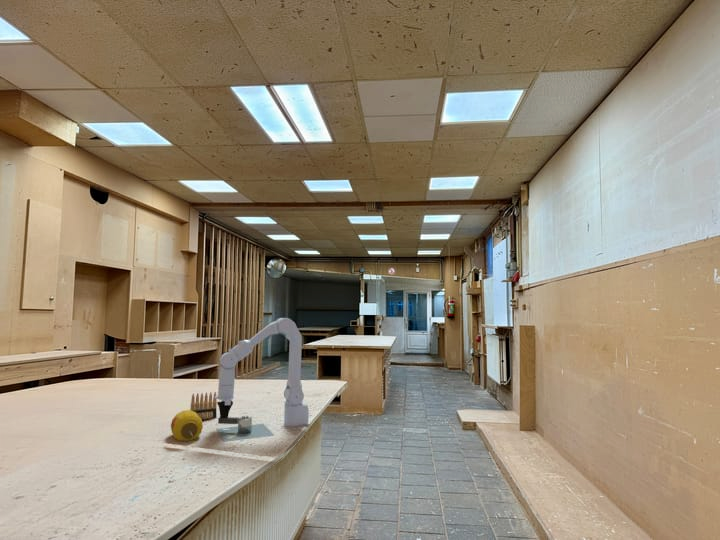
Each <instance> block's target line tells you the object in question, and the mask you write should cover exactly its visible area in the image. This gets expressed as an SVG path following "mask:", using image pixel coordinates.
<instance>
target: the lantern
mask: <svg viewBox="0 0 720 540" xmlns="http://www.w3.org/2000/svg"><path fill="white" fill-rule="evenodd" d="M203 427H204V426H203V422H202V420H201V418H200V417H199V416H198V415H197V414H196V412H194V411H191V410H190V409H186V410H182V411H180V412H178V413H177V414H176V415H174V417H173V419H172V420H171V424H170V429H171V433H172V435H173V437H174V438H175V440H177V442H188V441H189V442H190V441H193V440H196V439H197V438H199V436H200V435H201V433H202V432H203V431H202V430H203Z"/></svg>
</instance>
